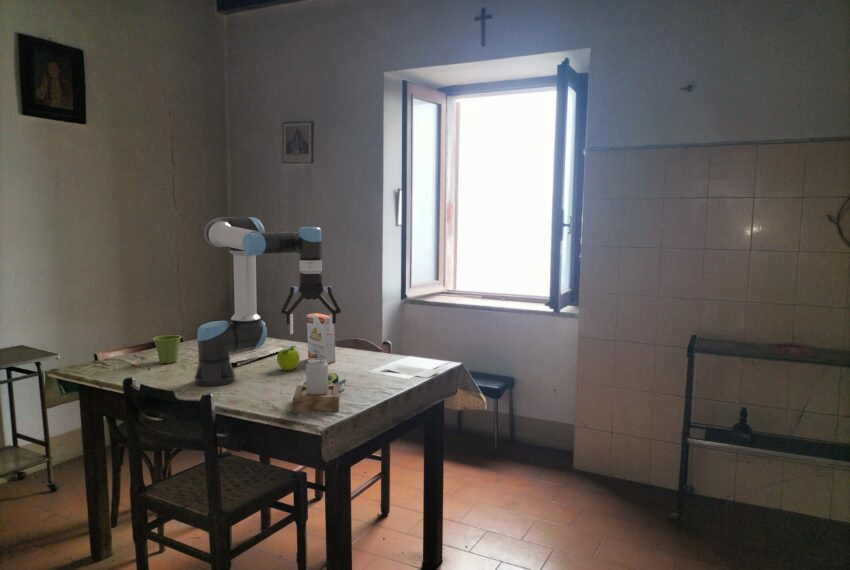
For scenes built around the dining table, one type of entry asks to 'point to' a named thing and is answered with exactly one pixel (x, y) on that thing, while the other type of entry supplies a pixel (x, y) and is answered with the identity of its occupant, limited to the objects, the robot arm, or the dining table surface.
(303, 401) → the wooden tray
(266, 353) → the newspaper
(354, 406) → the dining table surface
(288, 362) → the fruit
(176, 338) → the plant pot
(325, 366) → the can
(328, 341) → the cracker box
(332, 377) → the salad plate
